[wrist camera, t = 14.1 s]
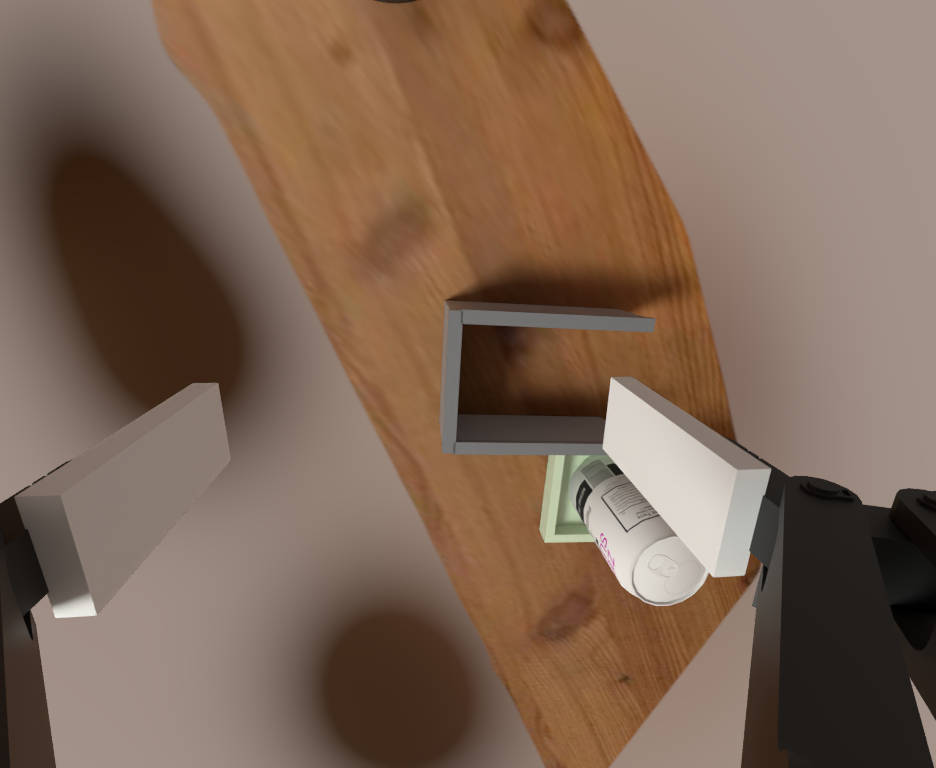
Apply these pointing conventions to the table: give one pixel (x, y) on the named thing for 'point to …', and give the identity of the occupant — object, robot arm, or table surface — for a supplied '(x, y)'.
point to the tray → (562, 502)
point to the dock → (521, 430)
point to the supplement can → (633, 535)
